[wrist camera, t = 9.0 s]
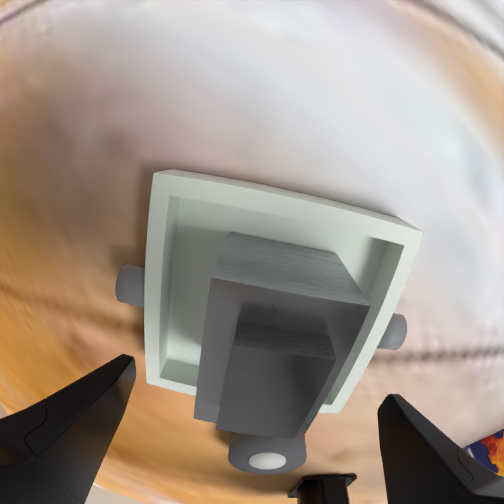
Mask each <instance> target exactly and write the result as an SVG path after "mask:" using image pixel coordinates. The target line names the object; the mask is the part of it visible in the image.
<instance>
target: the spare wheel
mask: <svg viewBox="0 0 504 504" xmlns="http://www.w3.org/2000/svg"><path fill="white" fill-rule="evenodd" d="M306 458H307V455H306V445H305V435H304V433H297V434H296V436H295V437H294V439H291V438H277V437H267V436H258V435H250V434H242V433H236V432H231V438H230V446H229V454H228V460H229V462H230V463H231V465H233V466H234V467H235V468H237V469H239V470H242V471H245V472H249V473H254V474H266V475H269V474H280V473H285V472H288V471H291V470H294V469H296V468H298V467H300V466H301V465H302V464H303V463H304V462H305V461H306Z"/></svg>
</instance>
